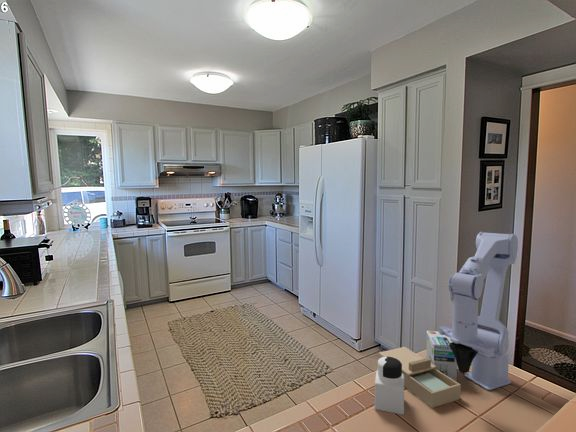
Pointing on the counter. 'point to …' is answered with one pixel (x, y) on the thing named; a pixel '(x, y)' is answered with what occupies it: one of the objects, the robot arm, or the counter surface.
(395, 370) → the medicine bottle
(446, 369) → the light bulb box
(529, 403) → the counter surface
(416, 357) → the mailer lid
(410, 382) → the base
